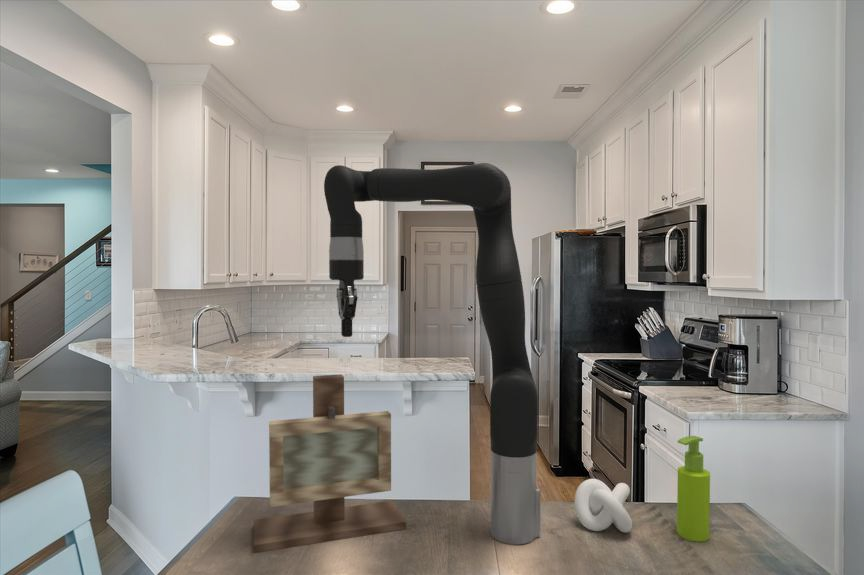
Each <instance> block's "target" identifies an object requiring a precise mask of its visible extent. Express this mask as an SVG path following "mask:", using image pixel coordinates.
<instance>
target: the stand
mask: <svg viewBox="0 0 864 575" xmlns="http://www.w3.org/2000/svg"><path fill="white" fill-rule="evenodd" d="M328 406H333V407H334V408H335V416H336V415H345V377H344V375H343V374H340V373H339V374H331V375H330V374H327V375H313V376H312V415H313V416H312V417H324V416H328ZM406 529H407V520H406V519H405V517H404V516H403V514H402V512H401V511H400V509H399V507H398V506H397V505H396V503H395V502H394V499H393V500H387V501H381V502H380V501H379V502H372V503H366V504H358V505H351V506H345V497H341V498H333V499H326V500H318V501H313V511H308V512H301V513H294V514H293V513H291V514H286V515H285V514H284V515H280V516H279V515H278V516H271V517H265V518H264V517H263V518H258V519H257V518H256V519H253V553H254V554H256V553H263V552H268V551H269V552H270V551H274V550H281V549H282V550H283V549H287V548H295V547H300V546H306V545H307V546H308V545H313V544H320V543H325V542H332V541H339V540H343V539H345V540H346V539H351V538H357V537H358V538H359V537H363V536H370V535H376V534H382V533H383V534H384V533H389V532H395V531H402V530H406Z"/></svg>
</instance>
